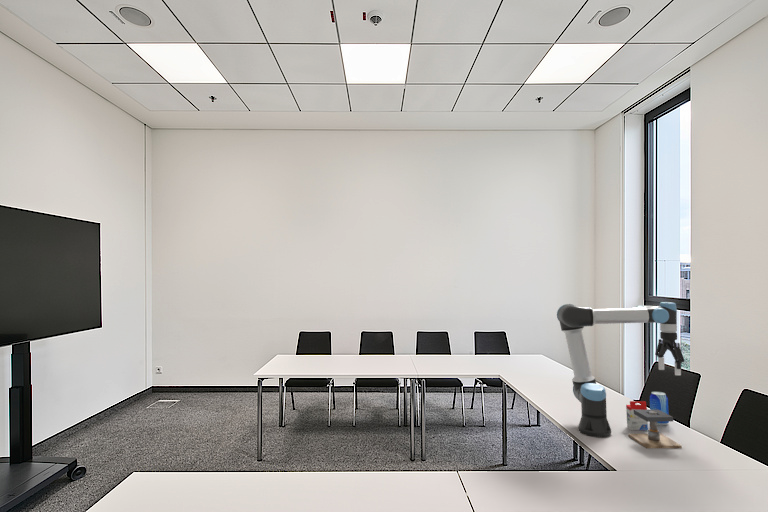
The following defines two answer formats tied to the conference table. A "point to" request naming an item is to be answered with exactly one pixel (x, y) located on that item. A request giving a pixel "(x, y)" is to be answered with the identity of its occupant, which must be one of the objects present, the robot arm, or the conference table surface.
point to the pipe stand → (654, 438)
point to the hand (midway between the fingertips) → (669, 372)
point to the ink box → (634, 420)
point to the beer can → (659, 404)
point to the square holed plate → (653, 416)
